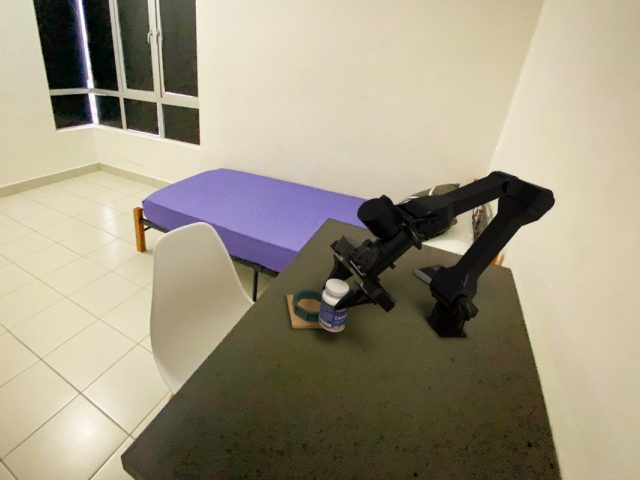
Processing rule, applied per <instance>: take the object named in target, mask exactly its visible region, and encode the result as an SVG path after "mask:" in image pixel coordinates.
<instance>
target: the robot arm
mask: <svg viewBox="0 0 640 480" xmlns="http://www.w3.org/2000/svg"><path fill="white" fill-rule="evenodd" d="M495 200H497V211H496V212H497V213H496V214H495V215H494V217H493V218H492V219H491V220H490V221H489V223H488V224H486V226H485V228H484V229H483V230H482V231H481V232H480V233H479V235H478V236H477V237H476V239H475V240H474V241H473V243H472V244H470V246H469V247H468V248H467V250H466V251H465V252H464V253H463V255H462V256H461V257H460V258H459V260H458V261H457V262H456V263H455V264H453V265H450V266H447V267H446V266H445V265H441V267H440V268H439V269H438V271H437V273H436V274H435V275H434V276H432V277H431V279H432V280H431V281H430V284H428V286H429V292H430V294H431V297H432V298H434V299H435V300H436V301H435V304H434V307H432V309H431V312H430V315H427V316H426V320H427V321H428V322H429V324H430V325H431V327H432V328H433V329H434V331H435V332H436V334H438V336H439V337H441V338H466V337H467V335H468V334H467V333H466V332H465V331H464V327H465V323H466V322H470V320H471V319H474V318H475V317H477V315H478V314H479V312H480V309H479V308H478V307H477V306H476V305H475V303H474V302H473V300H474V299H475V297H476V295H477V291H478V280H479V278H480V277H481V276H482V274H483V273H485V271H486V270H487V268H488V267H489V266H490V265H491V263H493V261H494V260H495V259H496V258H497V256H498V255H500V253H501V252H502V251H503V249H504V248H505V247H506V246H507V245H508V243H509V242H510V241H511V240H512V239H513V238H514V236H515V235H516V234H517V232H519V230H520V229H521V228H522V227H525V226H527V225H529V224H532V223H534V222H538V221H540V219H541V218H543V216H545V215H546V214H547V213H548V212H549V211H551V210H552V208H553V207H554V206H555V203H556V198H555V196H554V192H553V191H552V189H549V188H547V187H544V186H541V185H539V184H535V183H532V182H529V181H526V180H525V179H524V180H523V179H521V178H519V176H517V175H514V174H511V173H509V172H505V171H502V170H493V171H491V172H490V173H489V174H488V175H487V176H484V177H481V178H479V179H477V180H474V181H472V182H470V183H467V184H465V185H462V186H459V187H457V188H455V189H452V190H450V191H448V192H445V193H442V194H433V195H432V194H426V195H422V196H418V197H414V198H410V199H409V200H407V201H406V202H402V203H396V204H394V201H393V200H392V199H391V198H390V196H387V195H386V194H382V195H380V196H379V197H373V198H371V199H368V200H365V201H363V202H362V203H361V205H359V207H358V209H357V211H356V216H357V218H358V220H359V221H360V222H361V223H362V224H363V226H364V227H366V228H367V230H368V231H369V232H370V233H371V234H372V235H373V237H375V238H374V239H373V240H371V239H370V238H366V239H365V240H364V241H362V242H361V241H359V240H357V239H355V238H352V237H350V236H348V235H345V234H342V235H341V237H340V239H336V240H335V241H333V242H332V243H331V244H330V245H329V247H330V248H331V249H332V250H333V252H334V253H333V255H332V257H333V266H332V269H331V271H330V272H329V275H328V277H327V279H326V281H325V282H324V284H323V286H322V288H321V289H322V290H323V291H324V290H325V287H326V282H327V281H328V280H330V279H339V280H342V281H344V282H346V281H347V280H348V279H350V278H352V277H353V276H354V275H355V274H356V276H357V277H359V279H360V280H361V281H362V283H360V284H359V283H358V282H357V281H356V279H354V280H353V282H352V285H351V289H349V292H348V293H347V294H346V295H345V296H343V297H342V298H341V299H340V300H339V301H338V302H337V303H336V305H335V306H334V308H335V309H336V310H342V309H346V308H348V309H349V308H353V307H357V306H364V305H369V304H373V305H374V306H376V305H378V306H379V307H380V308H381V309H382V310H383V311H384V312H385V313H386V314H388V313H389V312H390V311H391V310H393V309H394V308H395V306H396V302H397V300H396V298H395V297H394V296H393V295H392V294H391V293H390V292H389V291H388V290H387V288H386V287H385V286H383V285H382V284H381V282H380V281H381V278H379V276H381V274H382V273H384V272H385V271H386V270H387V269H388V268H390V269H391V270H392V271H393V270H395V269H396V267H397V265H395V262H396V261H397V260H399V258H401V257H402V256H403V255H404V254H405V253H407V252H408V251H409V250H410V249H411V248H412V247H414V248H416V249H417V250H418V251H421V250H422V248H423V236H422V235H424V236H426V237H431V236H435V235H436V234H438V233H440V232H441V231H443V230H445V229H446V228H448V227H450V225H451V224H452V222H453V221H454V219H455V218H456V217H458V216H460V215H463V214H465V213H467V212H469V211H472V210H474V209H477V208H479V207H481V206H483V205H486V204H489V203H490V202H493V201H495ZM412 230H413V231H412ZM418 232H419V233H418ZM421 234H422V235H421ZM351 269H352V270H353V271H354V273H355V274H354V273H353V271H352V270H351Z"/></svg>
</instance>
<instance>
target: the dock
mask: <svg viewBox="0 0 640 480" xmlns="http://www.w3.org/2000/svg"><path fill="white" fill-rule="evenodd" d="M322 293H323V291H320V290H318V289H311V288H310V289H309V288H307V289H305V288H303V289H300V290H298V291H297V292H296V293H294V294H286V296H285V298H286V303H287V309H288V313H289V318H290V324H291V329H324V328H323V327H322V326H321V325H320V323H319V312H320V306H321V299H322Z"/></svg>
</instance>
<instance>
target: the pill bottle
mask: <svg viewBox="0 0 640 480" xmlns="http://www.w3.org/2000/svg"><path fill="white" fill-rule="evenodd" d="M325 282H326V281H325ZM349 291H350V286H349V284H348V283H347V282H346V281H342V280H339V279H330V280H328V281H327V282H326V287H325V290H323V291H322V299H321V306H320V312H319V323H320V325H321V326H322V327H323V328H322V329H324V330H326V331H328V332H331V333H340V332H341V331H343V330H344V329H345V327H346V324H347V319H348V318H347V317H348V314H349V313H348V312H349V308H346V309H342V310H336V309H335V308H334V306H335V305H336V303H337V302H338V301H339V300H340V299H341V298H342V297H343V296H345V295H346V294H347V293H348V292H349Z"/></svg>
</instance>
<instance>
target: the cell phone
mask: <svg viewBox="0 0 640 480" xmlns="http://www.w3.org/2000/svg"><path fill="white" fill-rule="evenodd" d="M441 266H442V265H441V264H434V265H429V266H426V267H422V268H418V269H415V270H414V275H415V276H416V277H418V278H419V279H421V280H423V282H424V283H426V284H428V285H429V284H430V281H431V280H432V279H431V277H432V276H434V275H435V274H436V273H437V271H438V269H439V268H440V267H441Z"/></svg>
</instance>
